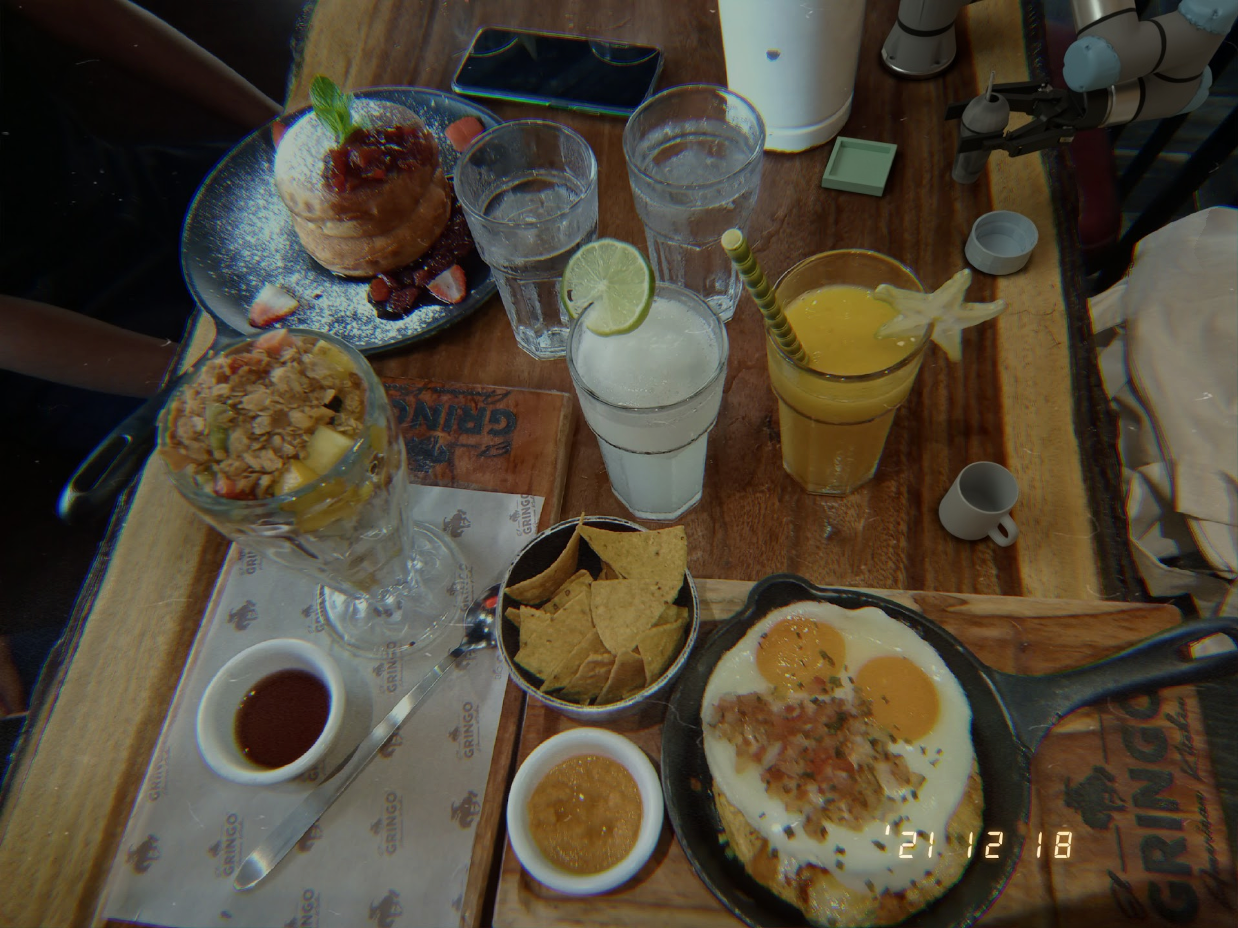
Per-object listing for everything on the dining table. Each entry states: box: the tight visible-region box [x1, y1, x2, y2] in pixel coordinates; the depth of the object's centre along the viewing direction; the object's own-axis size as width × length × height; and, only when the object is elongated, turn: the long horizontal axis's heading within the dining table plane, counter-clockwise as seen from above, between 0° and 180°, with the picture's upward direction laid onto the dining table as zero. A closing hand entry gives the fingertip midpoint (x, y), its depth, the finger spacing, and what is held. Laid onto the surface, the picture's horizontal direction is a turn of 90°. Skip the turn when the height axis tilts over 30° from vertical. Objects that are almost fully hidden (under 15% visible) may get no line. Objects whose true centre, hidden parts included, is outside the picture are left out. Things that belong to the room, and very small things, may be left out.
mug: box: [938, 461, 1020, 547], centre depth 109 cm, size 12×8×11 cm
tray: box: [821, 136, 898, 197], centre depth 148 cm, size 12×12×2 cm
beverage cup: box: [951, 70, 1011, 185], centre depth 121 cm, size 7×7×20 cm
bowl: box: [964, 209, 1040, 276], centre depth 134 cm, size 11×11×5 cm
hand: (952, 129), depth 121 cm, fingers closed on beverage cup, 7 cm apart
